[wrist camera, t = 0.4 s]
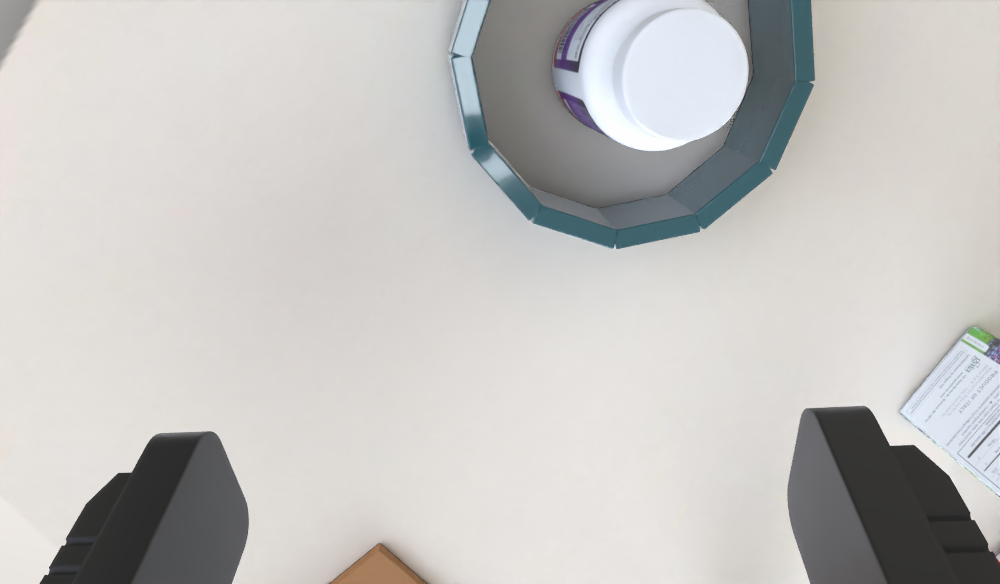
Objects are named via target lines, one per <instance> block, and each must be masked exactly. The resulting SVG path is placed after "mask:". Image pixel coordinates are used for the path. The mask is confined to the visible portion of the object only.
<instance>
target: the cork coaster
mask: <svg viewBox="0 0 1000 584" xmlns="http://www.w3.org/2000/svg"><path fill="white" fill-rule="evenodd" d="M330 584H426V583H425V582H424V581H423V580H422V579H421V578H419V577H418V576H417V575H416V574H415V573H414V572H413V571H411V570H410V569H409V568H408V567H407V566H406V565H404V564H403V563H402V562H401V561H400V560H399V559H397V558H396V557H395V556H394V555H393V554H392V553H391V552H389V551H388V550H387V549H386V548H385V547H384V546H382V545H381V544H378V545H377V546H376V547H374V548H373V549H372V550H371V551H370V552H368V553H367V554H366V555H365V556H363V557H362V558H361V559H360V560H358V561H357V562H356V563H355V564H353V565H352V566H351V567H350V568H349V569H347V570H346V571H345V572H344V573H342V574H341V575H340V576H339V577H337V578H336V579H335V580H334V581H332V582H331V583H330Z"/></svg>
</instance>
